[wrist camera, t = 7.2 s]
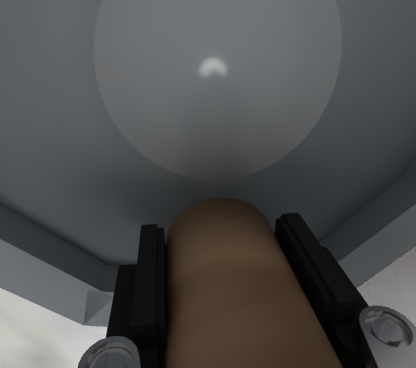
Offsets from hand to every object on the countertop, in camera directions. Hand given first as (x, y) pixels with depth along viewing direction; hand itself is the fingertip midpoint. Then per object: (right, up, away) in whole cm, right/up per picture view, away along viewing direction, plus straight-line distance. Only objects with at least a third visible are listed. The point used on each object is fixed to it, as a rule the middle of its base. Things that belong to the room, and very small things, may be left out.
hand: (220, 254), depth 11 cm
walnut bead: (0, 0, 0) cm, 1 cm away
